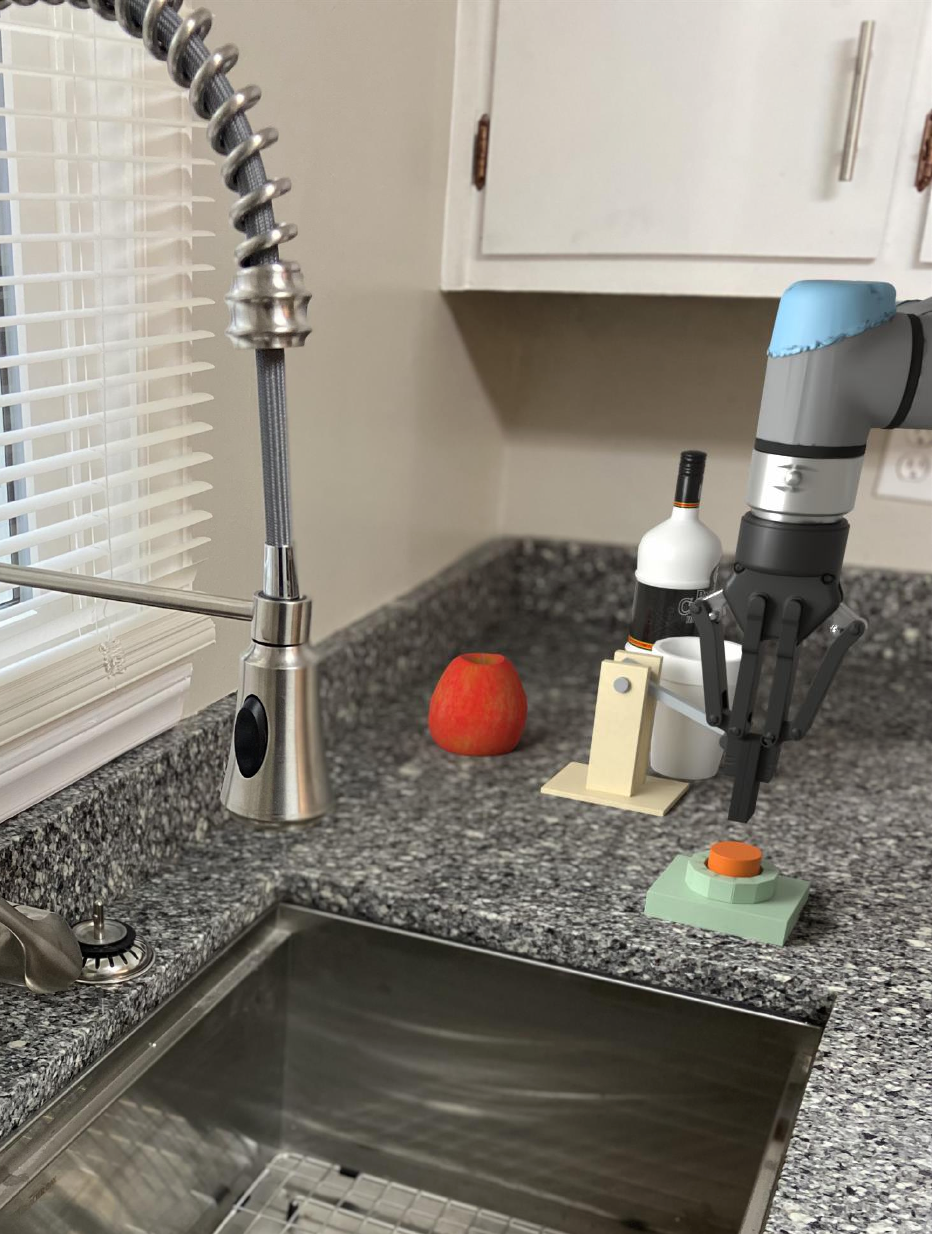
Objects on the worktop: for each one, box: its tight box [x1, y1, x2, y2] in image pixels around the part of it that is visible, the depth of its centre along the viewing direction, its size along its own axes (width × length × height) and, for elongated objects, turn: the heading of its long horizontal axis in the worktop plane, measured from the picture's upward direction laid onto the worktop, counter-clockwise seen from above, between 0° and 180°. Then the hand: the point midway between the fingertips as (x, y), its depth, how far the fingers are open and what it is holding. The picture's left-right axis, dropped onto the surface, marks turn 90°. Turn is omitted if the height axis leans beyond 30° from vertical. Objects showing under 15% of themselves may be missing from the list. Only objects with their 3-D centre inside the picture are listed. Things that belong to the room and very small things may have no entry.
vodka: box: [624, 449, 723, 654], centre depth 155 cm, size 9×9×30 cm
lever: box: [621, 657, 752, 751], centre depth 139 cm, size 13×6×2 cm, turn 59°
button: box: [707, 840, 763, 878], centre depth 120 cm, size 4×4×2 cm
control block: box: [643, 849, 812, 947], centre depth 121 cm, size 11×9×4 cm
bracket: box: [540, 649, 690, 818], centre depth 142 cm, size 12×9×14 cm
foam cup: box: [650, 637, 742, 781], centre depth 148 cm, size 10×9×13 cm
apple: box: [427, 652, 529, 757], centre depth 156 cm, size 10×10×10 cm
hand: (740, 816), depth 118 cm, fingers closed
